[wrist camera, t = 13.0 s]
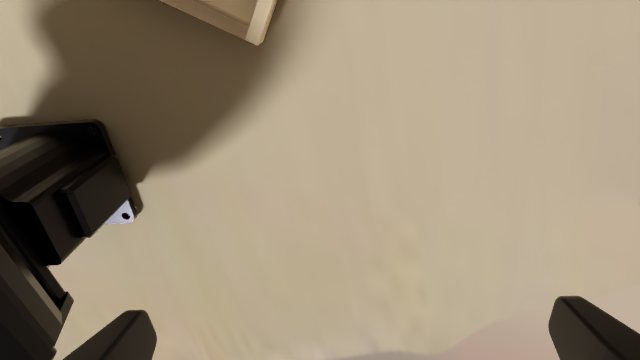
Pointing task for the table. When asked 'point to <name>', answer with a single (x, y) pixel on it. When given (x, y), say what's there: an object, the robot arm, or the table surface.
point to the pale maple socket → (232, 15)
